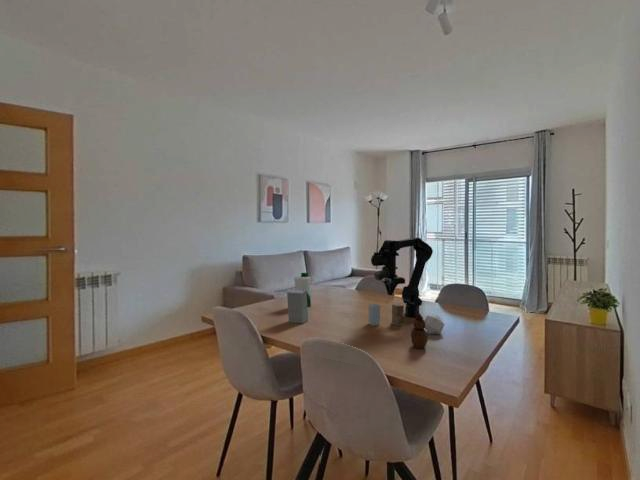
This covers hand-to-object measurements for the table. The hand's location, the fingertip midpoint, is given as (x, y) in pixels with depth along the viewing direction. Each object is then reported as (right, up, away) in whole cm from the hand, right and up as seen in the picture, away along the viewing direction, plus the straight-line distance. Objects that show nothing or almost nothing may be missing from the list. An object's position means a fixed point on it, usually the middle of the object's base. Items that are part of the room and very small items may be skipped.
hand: (389, 295), depth 175 cm
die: (+16, -14, -20) cm, 29 cm away
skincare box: (-47, -14, -2) cm, 49 cm away
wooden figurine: (+4, -15, -38) cm, 41 cm away
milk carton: (-46, -12, +30) cm, 56 cm away
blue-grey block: (-9, -13, -6) cm, 17 cm away
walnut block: (+3, -13, -6) cm, 15 cm away
